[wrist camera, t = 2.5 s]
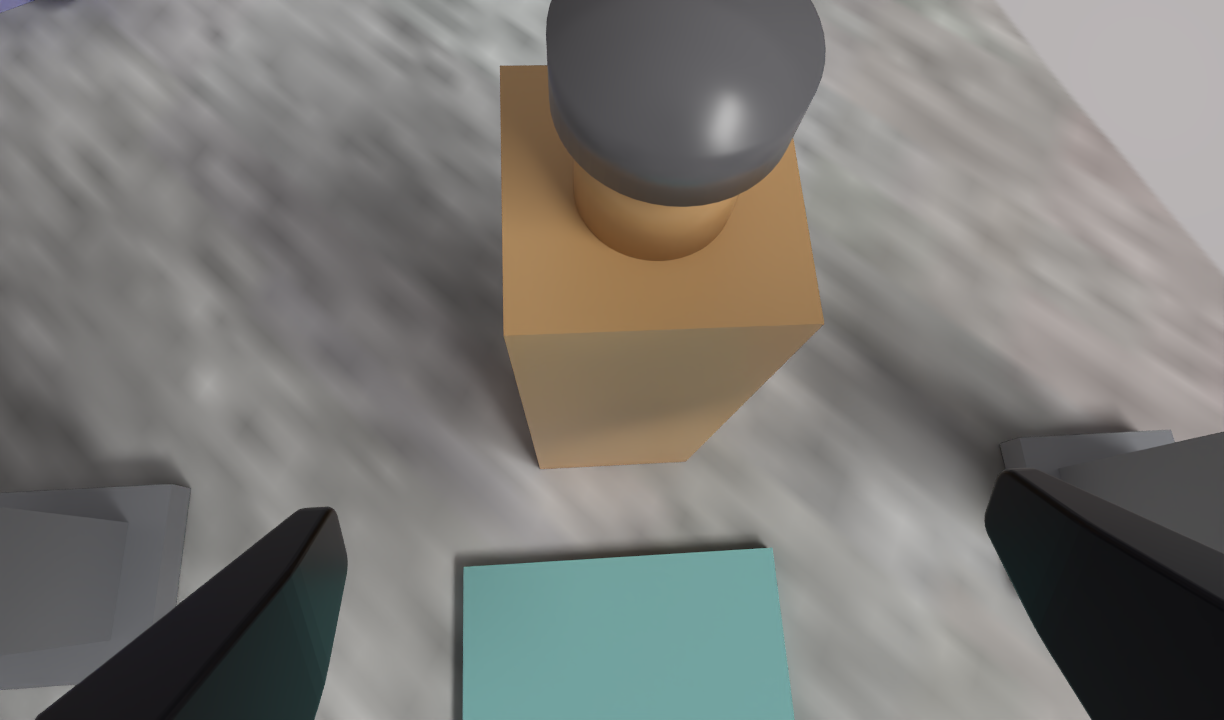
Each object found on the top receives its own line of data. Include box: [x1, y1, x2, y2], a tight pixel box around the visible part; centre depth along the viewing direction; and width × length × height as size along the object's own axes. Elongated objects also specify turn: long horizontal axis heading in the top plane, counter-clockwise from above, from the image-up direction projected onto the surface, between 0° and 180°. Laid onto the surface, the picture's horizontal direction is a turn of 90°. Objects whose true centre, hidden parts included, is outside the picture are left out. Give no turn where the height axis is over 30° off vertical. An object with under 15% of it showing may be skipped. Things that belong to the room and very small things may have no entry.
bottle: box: [500, 0, 826, 469], centre depth 14 cm, size 4×4×15 cm
